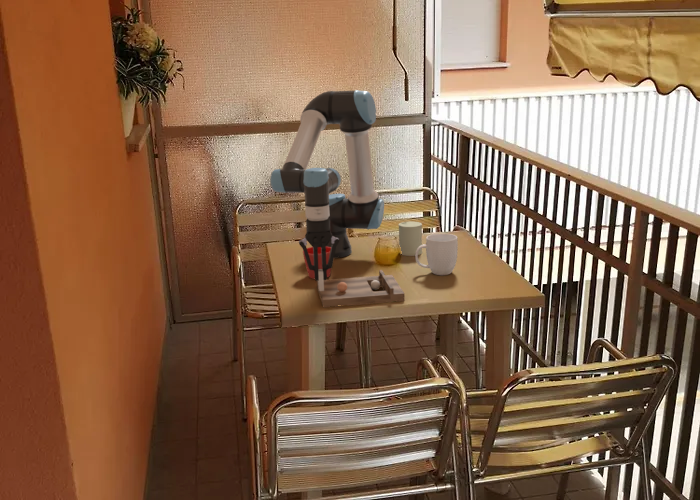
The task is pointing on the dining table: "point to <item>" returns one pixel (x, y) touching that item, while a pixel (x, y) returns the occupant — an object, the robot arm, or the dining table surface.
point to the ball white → (375, 284)
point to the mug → (440, 253)
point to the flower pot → (310, 252)
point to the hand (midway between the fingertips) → (321, 289)
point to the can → (410, 237)
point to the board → (361, 291)
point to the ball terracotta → (342, 286)
